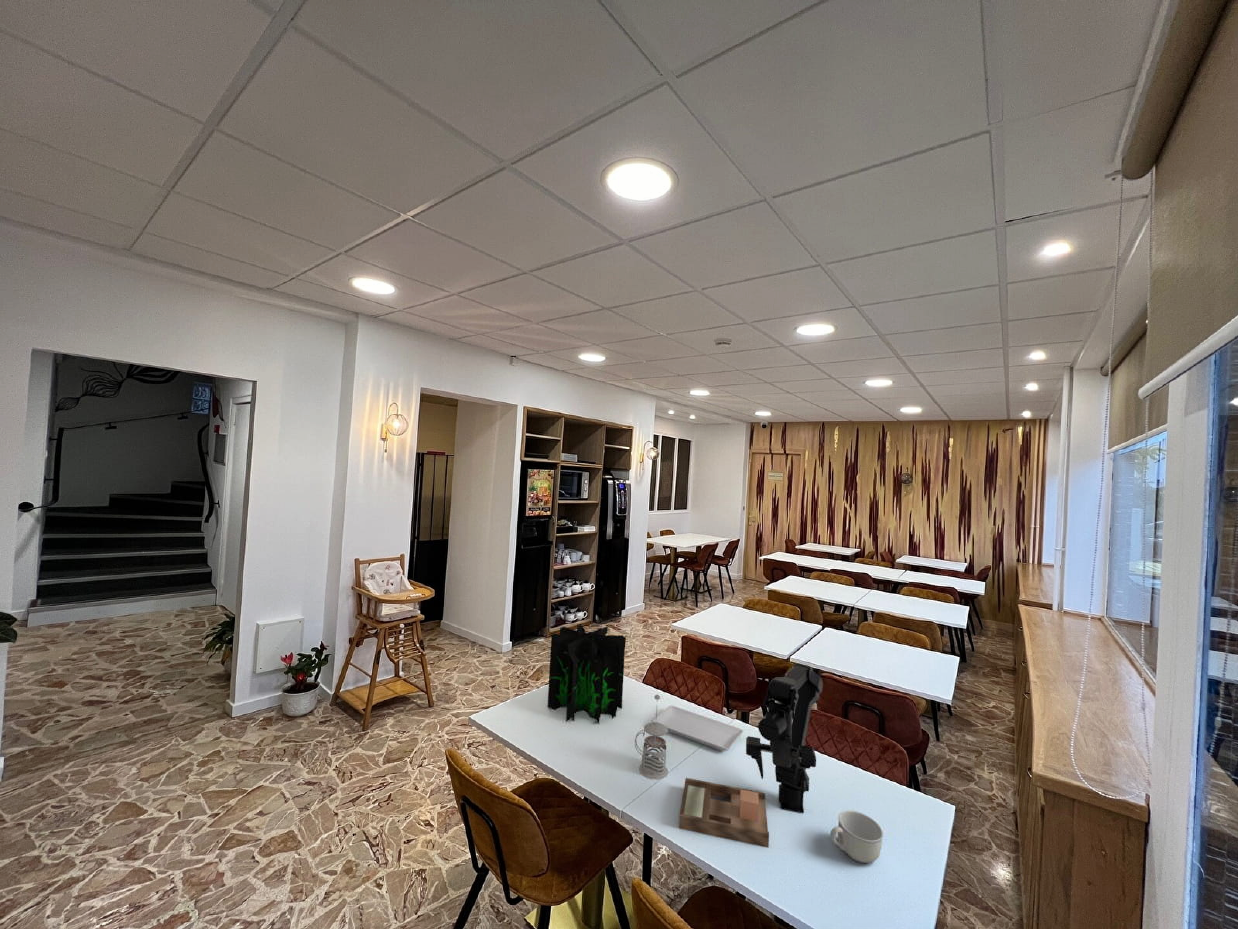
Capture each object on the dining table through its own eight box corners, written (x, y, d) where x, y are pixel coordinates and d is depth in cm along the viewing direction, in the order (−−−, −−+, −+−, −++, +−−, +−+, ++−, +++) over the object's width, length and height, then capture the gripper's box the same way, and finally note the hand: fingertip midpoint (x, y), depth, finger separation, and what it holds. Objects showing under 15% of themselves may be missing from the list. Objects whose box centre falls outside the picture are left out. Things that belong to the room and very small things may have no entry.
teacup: (868, 839, 138) (869, 810, 138) (890, 871, 127) (892, 839, 127) (818, 838, 137) (819, 809, 137) (837, 869, 126) (838, 838, 126)
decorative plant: (579, 732, 186) (583, 652, 186) (535, 702, 208) (539, 631, 208) (633, 710, 205) (637, 638, 206) (588, 685, 227) (592, 620, 228)
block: (757, 810, 144) (758, 793, 144) (758, 821, 140) (758, 803, 140) (739, 806, 146) (740, 789, 146) (739, 818, 141) (740, 800, 141)
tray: (727, 759, 174) (728, 749, 174) (650, 729, 191) (650, 720, 192) (744, 739, 188) (744, 729, 188) (670, 713, 206) (670, 704, 206)
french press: (666, 782, 159) (670, 703, 159) (631, 775, 161) (635, 698, 161) (669, 764, 168) (673, 690, 169) (636, 759, 171) (639, 686, 171)
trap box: (764, 804, 150) (765, 793, 150) (768, 847, 133) (769, 834, 133) (685, 789, 156) (685, 777, 156) (678, 828, 138) (679, 815, 138)
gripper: (747, 734, 135) (744, 792, 135) (820, 747, 131) (817, 806, 131) (747, 715, 146) (744, 768, 146) (814, 726, 142) (812, 781, 141)
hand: (778, 781), depth 141 cm, fingers open, 9 cm apart
